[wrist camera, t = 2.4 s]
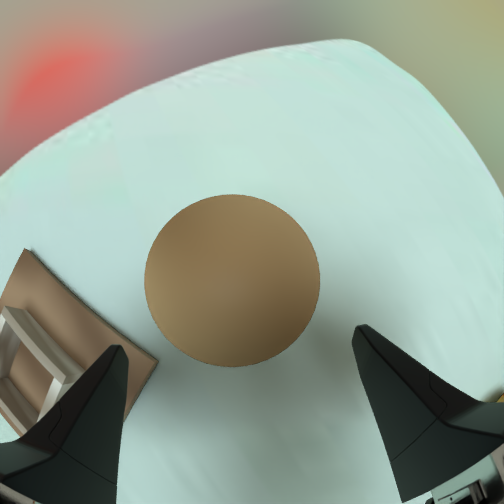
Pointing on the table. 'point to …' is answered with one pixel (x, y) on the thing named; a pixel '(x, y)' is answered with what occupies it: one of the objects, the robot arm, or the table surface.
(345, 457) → the table surface
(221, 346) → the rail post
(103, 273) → the table surface
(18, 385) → the cup bracket
